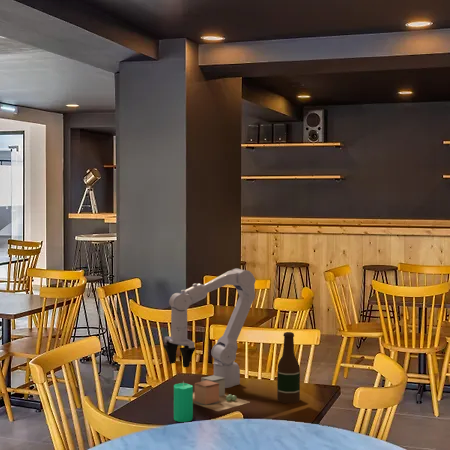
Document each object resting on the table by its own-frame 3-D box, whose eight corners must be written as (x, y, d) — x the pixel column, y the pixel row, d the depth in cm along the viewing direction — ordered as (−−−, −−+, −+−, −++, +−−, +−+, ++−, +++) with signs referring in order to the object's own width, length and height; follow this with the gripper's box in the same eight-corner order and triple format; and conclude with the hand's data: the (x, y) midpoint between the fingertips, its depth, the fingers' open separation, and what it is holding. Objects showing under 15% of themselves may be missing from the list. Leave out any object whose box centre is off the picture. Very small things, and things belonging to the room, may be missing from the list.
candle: (173, 416, 218) (173, 378, 218) (192, 415, 219) (192, 378, 218) (173, 422, 212) (173, 383, 212) (193, 421, 213) (193, 383, 213)
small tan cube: (207, 397, 235) (207, 380, 235) (218, 401, 231) (218, 383, 231) (194, 400, 231) (194, 383, 231) (205, 404, 227) (205, 386, 227)
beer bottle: (302, 401, 235) (302, 331, 235) (297, 407, 228) (297, 335, 227) (280, 399, 238) (280, 329, 237) (274, 405, 230) (274, 334, 230)
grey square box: (213, 391, 243) (213, 374, 243) (224, 395, 239) (224, 377, 239) (201, 394, 239) (201, 377, 239) (212, 398, 235) (212, 380, 235)
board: (207, 391, 246) (207, 388, 246) (250, 405, 230) (250, 401, 230) (174, 399, 236) (174, 396, 236) (217, 414, 220) (217, 410, 220)
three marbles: (230, 398, 235) (230, 393, 235) (237, 400, 232) (237, 395, 232) (222, 400, 232) (222, 395, 232) (230, 402, 230) (230, 397, 230)
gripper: (157, 325, 247) (157, 363, 248) (183, 331, 237) (183, 370, 237) (173, 323, 252) (173, 360, 252) (199, 328, 241) (199, 367, 242)
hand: (179, 365), depth 245 cm, fingers open, 7 cm apart
